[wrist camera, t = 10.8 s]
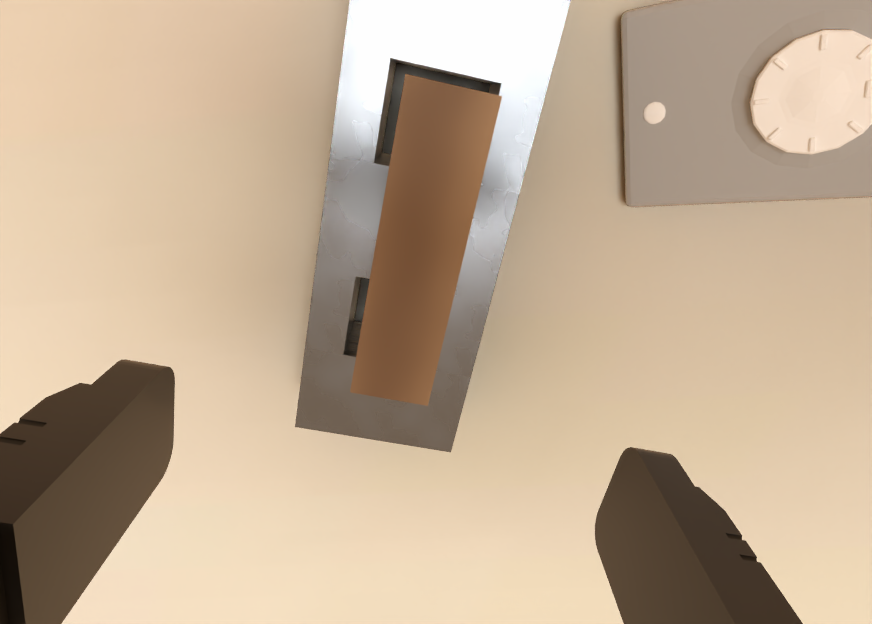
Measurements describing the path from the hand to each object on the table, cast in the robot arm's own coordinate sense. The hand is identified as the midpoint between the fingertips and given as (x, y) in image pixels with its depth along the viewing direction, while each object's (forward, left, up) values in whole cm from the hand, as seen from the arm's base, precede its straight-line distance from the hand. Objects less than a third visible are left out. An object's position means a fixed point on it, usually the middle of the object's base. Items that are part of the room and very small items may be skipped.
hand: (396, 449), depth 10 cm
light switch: (-14, -9, -19) cm, 26 cm away
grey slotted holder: (0, 0, -19) cm, 19 cm away
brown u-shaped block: (0, 0, -19) cm, 19 cm away
